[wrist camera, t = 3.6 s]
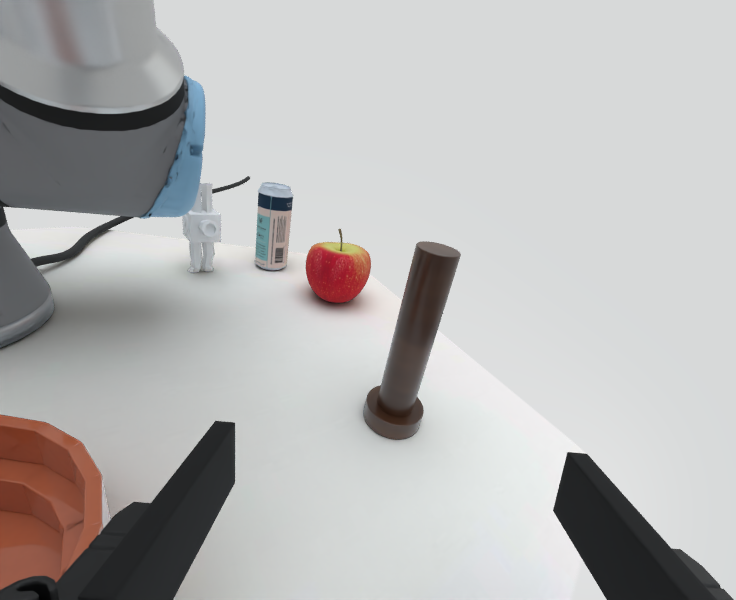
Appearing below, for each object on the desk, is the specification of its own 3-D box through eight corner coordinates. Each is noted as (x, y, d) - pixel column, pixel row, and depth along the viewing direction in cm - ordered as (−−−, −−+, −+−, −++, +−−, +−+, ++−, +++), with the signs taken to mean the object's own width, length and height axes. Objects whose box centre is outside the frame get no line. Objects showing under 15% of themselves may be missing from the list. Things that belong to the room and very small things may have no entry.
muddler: (357, 398, 31) (393, 234, 25) (407, 396, 33) (453, 240, 26) (372, 442, 27) (419, 258, 21) (428, 437, 29) (488, 265, 22)
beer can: (290, 263, 57) (297, 186, 51) (282, 274, 52) (289, 191, 47) (260, 258, 56) (264, 180, 51) (249, 268, 52) (253, 184, 47)
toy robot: (196, 285, 44) (193, 187, 39) (179, 262, 49) (174, 173, 44) (227, 282, 47) (229, 189, 42) (208, 260, 52) (207, 175, 47)
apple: (291, 300, 45) (298, 224, 41) (319, 279, 53) (328, 213, 49) (350, 319, 44) (365, 242, 40) (371, 295, 51) (385, 228, 47)
